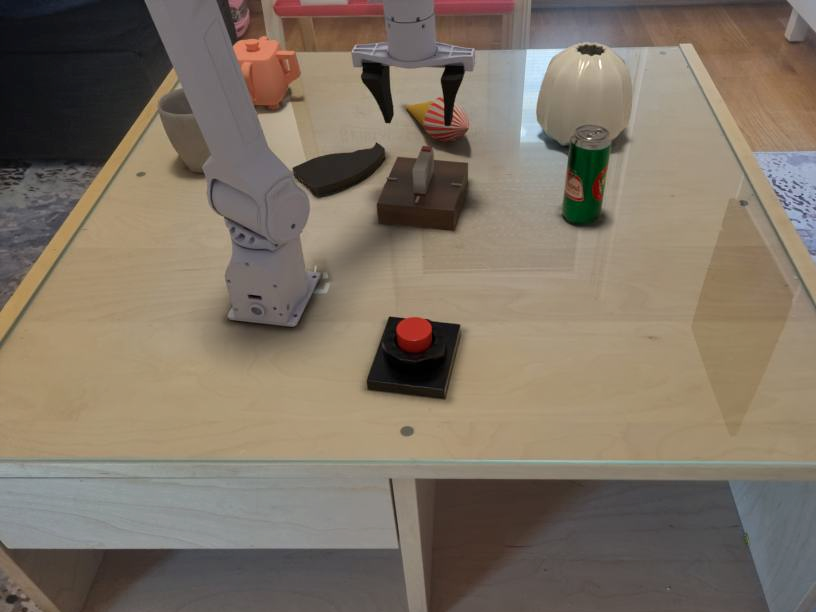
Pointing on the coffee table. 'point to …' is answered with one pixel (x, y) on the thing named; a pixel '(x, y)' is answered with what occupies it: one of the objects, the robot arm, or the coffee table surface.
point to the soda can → (586, 174)
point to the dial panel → (423, 195)
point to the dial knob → (423, 170)
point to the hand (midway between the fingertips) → (419, 120)
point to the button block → (415, 362)
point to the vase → (584, 92)
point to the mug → (183, 129)
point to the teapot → (266, 69)
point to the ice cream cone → (440, 119)
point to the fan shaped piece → (339, 169)
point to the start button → (414, 334)
